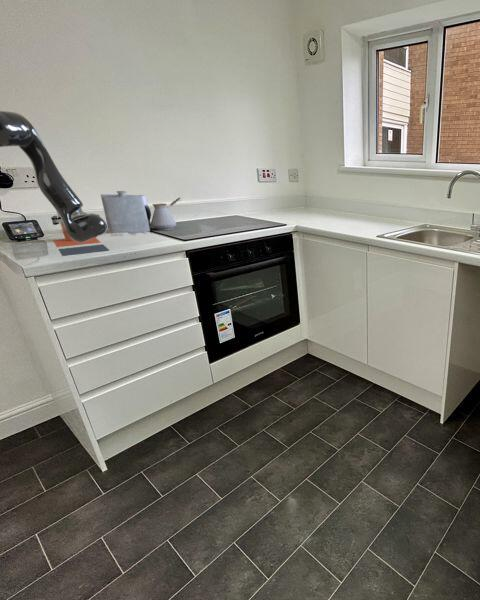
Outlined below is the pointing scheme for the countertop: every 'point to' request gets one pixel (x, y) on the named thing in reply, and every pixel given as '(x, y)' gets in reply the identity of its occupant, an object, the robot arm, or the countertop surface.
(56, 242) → the terracotta mat
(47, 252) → the countertop surface
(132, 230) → the hip flask
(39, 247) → the countertop surface
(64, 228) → the terracotta bottle
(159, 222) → the coffee pot
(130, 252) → the countertop surface
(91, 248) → the grey mat
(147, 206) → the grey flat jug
